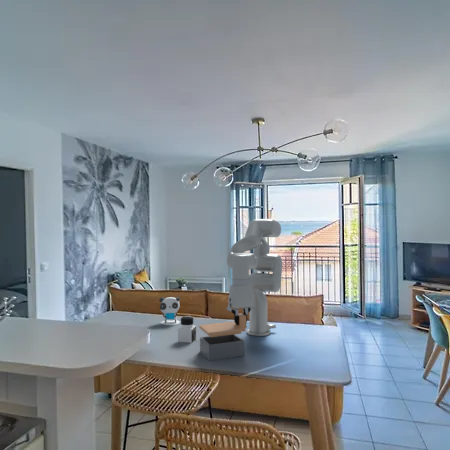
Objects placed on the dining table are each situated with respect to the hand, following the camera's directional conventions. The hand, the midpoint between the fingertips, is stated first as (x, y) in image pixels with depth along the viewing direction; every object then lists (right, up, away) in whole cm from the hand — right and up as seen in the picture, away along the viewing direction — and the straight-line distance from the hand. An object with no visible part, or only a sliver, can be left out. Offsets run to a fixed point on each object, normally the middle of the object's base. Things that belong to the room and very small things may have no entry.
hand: (240, 323), depth 156 cm
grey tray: (-8, -13, -4) cm, 16 cm away
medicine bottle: (-26, -13, +15) cm, 33 cm away
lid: (-7, -3, -3) cm, 8 cm away
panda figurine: (-40, -14, +51) cm, 66 cm away
